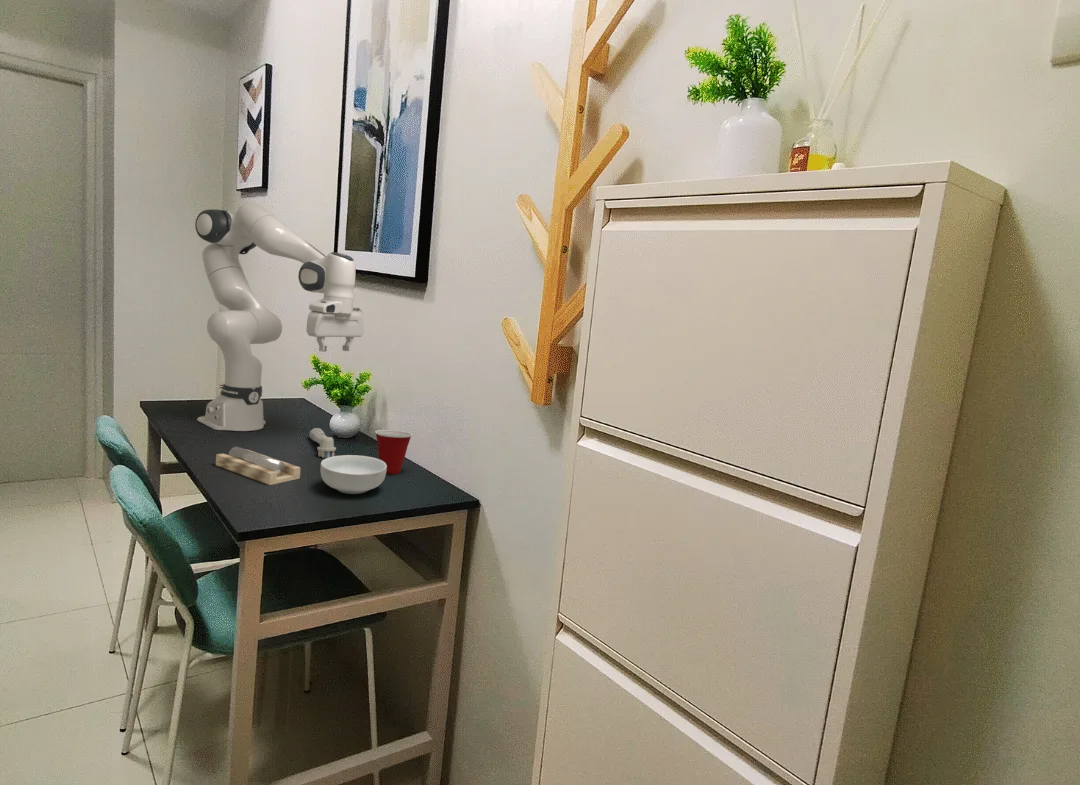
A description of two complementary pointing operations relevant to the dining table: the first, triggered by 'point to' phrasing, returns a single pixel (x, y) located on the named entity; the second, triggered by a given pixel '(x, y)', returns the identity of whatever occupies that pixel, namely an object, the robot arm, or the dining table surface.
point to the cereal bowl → (353, 473)
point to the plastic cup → (392, 448)
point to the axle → (258, 460)
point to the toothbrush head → (323, 443)
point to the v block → (257, 470)
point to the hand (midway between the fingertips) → (334, 351)
